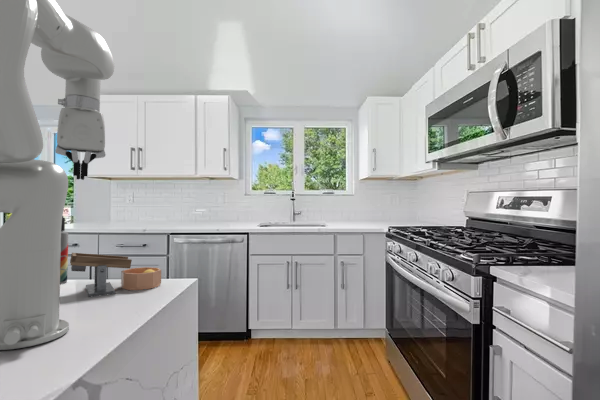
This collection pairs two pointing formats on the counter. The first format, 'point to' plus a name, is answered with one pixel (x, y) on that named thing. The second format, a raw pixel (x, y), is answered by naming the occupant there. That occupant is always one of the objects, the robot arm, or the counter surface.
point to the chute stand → (100, 283)
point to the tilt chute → (97, 261)
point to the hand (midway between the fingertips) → (80, 178)
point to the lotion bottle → (64, 253)
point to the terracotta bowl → (140, 278)
